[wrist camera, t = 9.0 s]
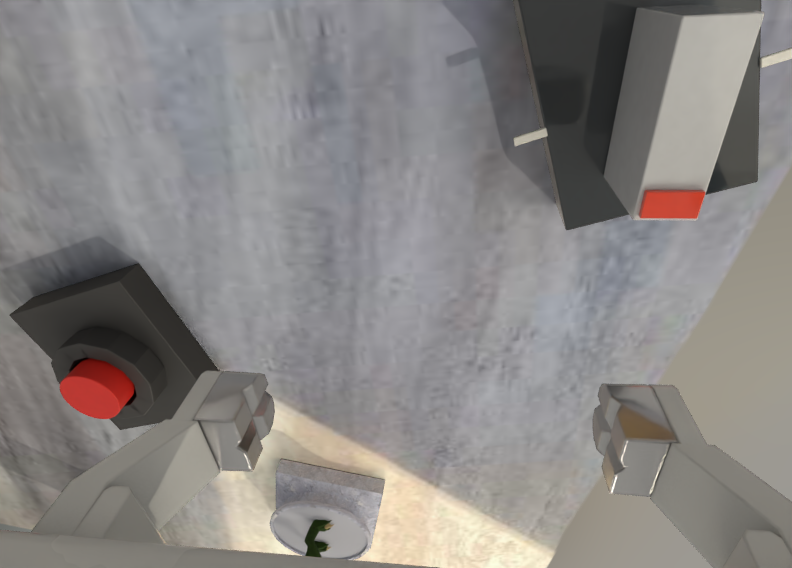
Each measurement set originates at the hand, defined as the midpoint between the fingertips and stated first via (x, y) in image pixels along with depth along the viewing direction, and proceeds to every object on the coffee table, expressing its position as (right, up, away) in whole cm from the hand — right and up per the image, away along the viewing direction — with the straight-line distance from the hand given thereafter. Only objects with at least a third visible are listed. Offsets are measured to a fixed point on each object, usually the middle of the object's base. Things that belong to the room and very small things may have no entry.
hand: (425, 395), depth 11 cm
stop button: (-21, -4, +21) cm, 29 cm away
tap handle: (+9, +10, +7) cm, 16 cm away
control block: (-20, -2, +24) cm, 31 cm away
